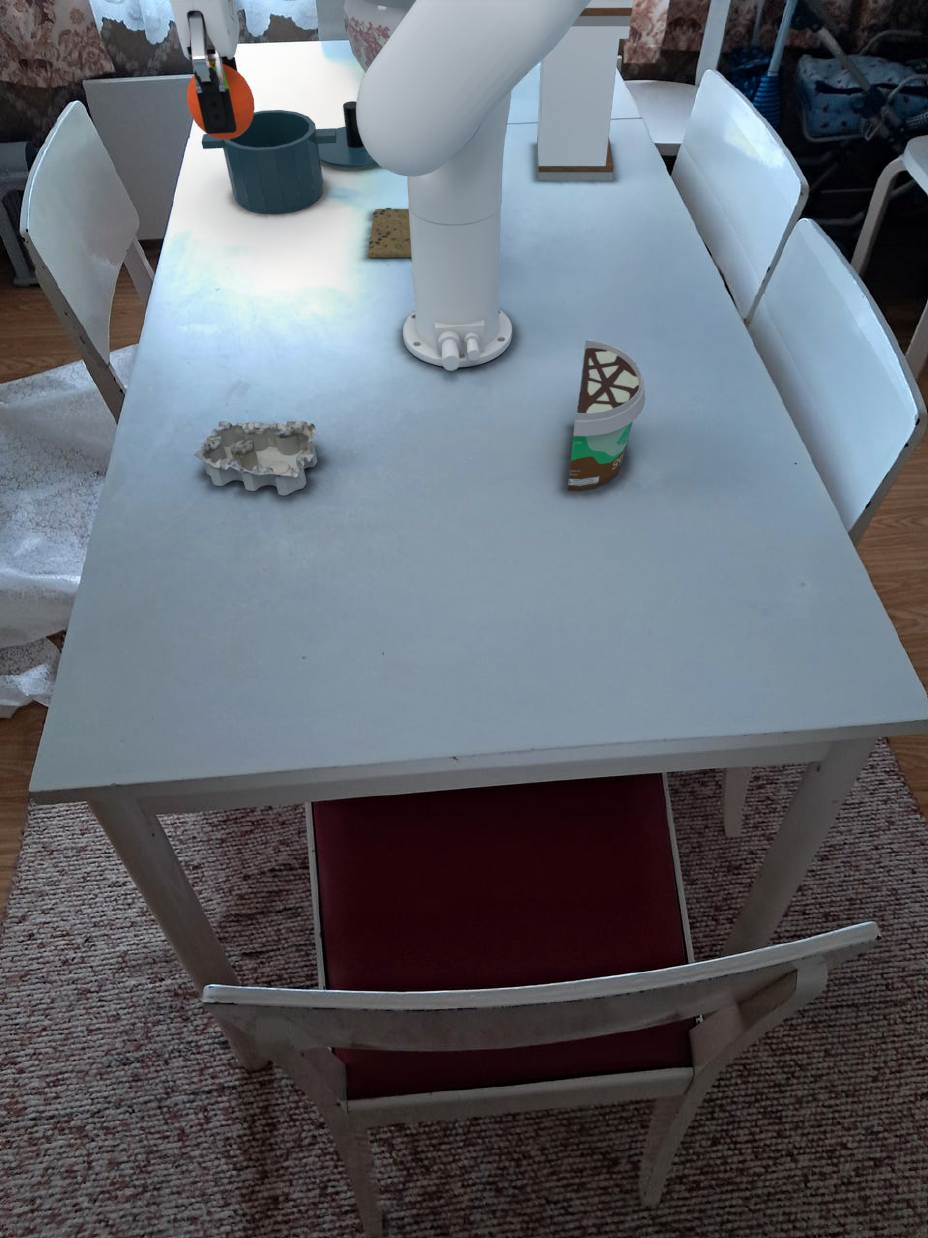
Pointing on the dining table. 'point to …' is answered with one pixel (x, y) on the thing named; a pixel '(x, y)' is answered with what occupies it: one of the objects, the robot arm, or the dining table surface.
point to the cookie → (390, 233)
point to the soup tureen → (372, 25)
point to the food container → (604, 415)
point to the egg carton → (260, 454)
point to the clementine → (239, 98)
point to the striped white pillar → (581, 95)
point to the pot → (275, 162)
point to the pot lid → (347, 144)
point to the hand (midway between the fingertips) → (224, 113)
